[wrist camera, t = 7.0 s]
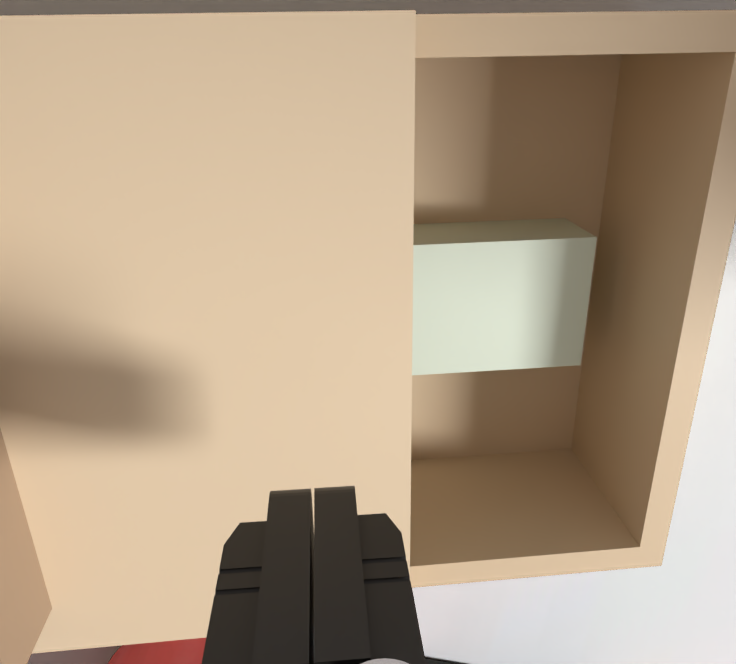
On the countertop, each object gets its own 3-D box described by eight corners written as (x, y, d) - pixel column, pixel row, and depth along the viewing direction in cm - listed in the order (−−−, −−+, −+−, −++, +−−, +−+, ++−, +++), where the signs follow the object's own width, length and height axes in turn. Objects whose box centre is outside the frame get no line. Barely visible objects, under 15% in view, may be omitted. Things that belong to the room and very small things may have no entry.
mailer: (639, 24, 19) (779, 8, 13) (580, 452, 25) (661, 565, 19) (-74, 35, 17) (-252, 23, 12) (47, 491, 23) (-33, 626, 17)
